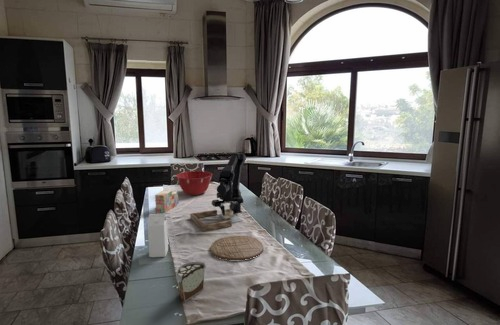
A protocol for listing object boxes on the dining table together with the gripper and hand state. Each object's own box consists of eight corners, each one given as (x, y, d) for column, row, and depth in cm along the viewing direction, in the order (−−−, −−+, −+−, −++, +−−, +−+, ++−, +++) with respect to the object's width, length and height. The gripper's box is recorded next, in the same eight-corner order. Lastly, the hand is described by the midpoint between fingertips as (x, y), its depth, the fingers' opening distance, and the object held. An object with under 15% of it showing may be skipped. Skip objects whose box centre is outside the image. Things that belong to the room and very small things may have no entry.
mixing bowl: (210, 197, 237) (209, 178, 235) (172, 197, 238) (172, 178, 235) (214, 188, 265) (214, 171, 263) (181, 188, 266) (180, 171, 263)
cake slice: (194, 282, 119) (193, 258, 117) (206, 287, 115) (205, 262, 114) (169, 298, 109) (167, 271, 107) (181, 304, 105) (180, 276, 104)
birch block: (230, 214, 193) (229, 208, 192) (233, 217, 188) (233, 211, 188) (222, 216, 191) (222, 209, 190) (225, 218, 186) (225, 212, 186)
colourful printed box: (170, 203, 223) (169, 186, 221) (178, 204, 222) (178, 187, 220) (155, 212, 202) (154, 194, 200) (164, 213, 201) (163, 195, 199)
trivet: (270, 257, 140) (270, 253, 139) (215, 265, 133) (215, 261, 132) (254, 236, 163) (254, 233, 163) (206, 242, 156) (206, 238, 156)
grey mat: (232, 213, 199) (232, 213, 199) (243, 220, 186) (243, 220, 186) (219, 216, 195) (219, 215, 195) (229, 223, 182) (229, 222, 182)
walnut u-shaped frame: (216, 214, 199) (216, 209, 198) (231, 226, 178) (231, 221, 177) (190, 218, 191) (190, 213, 191) (203, 231, 170) (203, 226, 170)
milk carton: (152, 250, 146) (150, 211, 143) (168, 250, 147) (166, 211, 144) (149, 257, 139) (147, 217, 136) (165, 257, 140) (163, 216, 137)
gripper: (236, 185, 198) (236, 209, 201) (208, 189, 190) (208, 213, 192) (243, 189, 188) (243, 214, 191) (214, 193, 180) (215, 219, 182)
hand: (227, 215), depth 189 cm, fingers closed on birch block, 5 cm apart
